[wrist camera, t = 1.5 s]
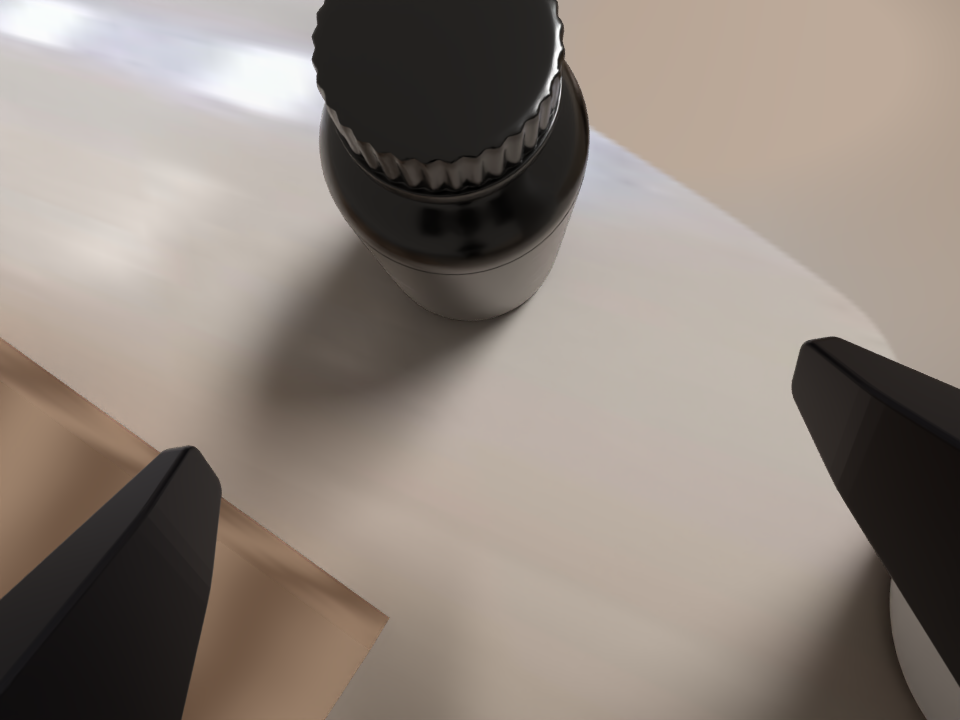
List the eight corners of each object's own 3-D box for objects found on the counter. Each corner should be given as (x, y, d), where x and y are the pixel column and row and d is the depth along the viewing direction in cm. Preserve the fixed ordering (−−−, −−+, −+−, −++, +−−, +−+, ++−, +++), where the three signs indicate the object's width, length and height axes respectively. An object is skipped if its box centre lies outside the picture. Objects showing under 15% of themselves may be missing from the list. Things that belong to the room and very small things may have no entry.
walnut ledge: (389, 617, 21) (369, 650, 18) (248, 834, 20) (204, 904, 18) (-17, 325, 23) (-95, 311, 20) (-155, 515, 22) (-256, 529, 19)
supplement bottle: (361, 295, 22) (195, 151, 10) (418, 136, 23) (321, -171, 11) (529, 349, 22) (554, 262, 10) (582, 184, 22) (667, -83, 11)
